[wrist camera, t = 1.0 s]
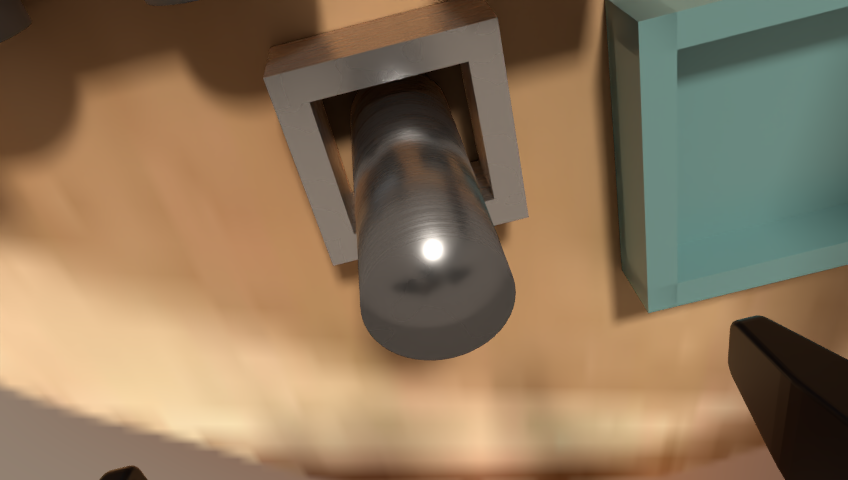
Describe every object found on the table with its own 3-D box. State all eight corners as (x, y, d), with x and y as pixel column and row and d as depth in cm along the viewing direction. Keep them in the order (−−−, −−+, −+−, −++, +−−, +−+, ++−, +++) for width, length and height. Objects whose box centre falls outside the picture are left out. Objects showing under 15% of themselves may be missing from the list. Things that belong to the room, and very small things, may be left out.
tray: (989, -102, 19) (1070, -89, 17) (917, 197, 24) (972, 234, 22) (604, -3, 19) (638, 21, 17) (621, 269, 25) (648, 313, 22)
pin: (437, 57, 19) (503, 219, 12) (456, 148, 21) (524, 339, 14) (337, 83, 19) (341, 260, 12) (365, 171, 21) (382, 374, 14)
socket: (479, -7, 18) (497, 17, 16) (509, 177, 22) (528, 217, 20) (270, 46, 19) (262, 77, 17) (333, 221, 22) (333, 265, 20)
